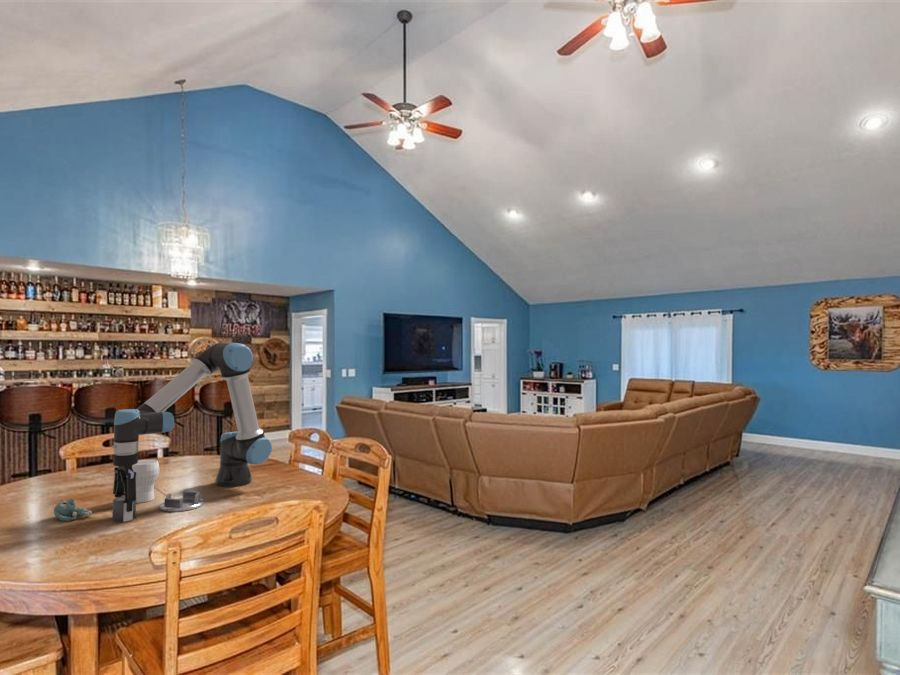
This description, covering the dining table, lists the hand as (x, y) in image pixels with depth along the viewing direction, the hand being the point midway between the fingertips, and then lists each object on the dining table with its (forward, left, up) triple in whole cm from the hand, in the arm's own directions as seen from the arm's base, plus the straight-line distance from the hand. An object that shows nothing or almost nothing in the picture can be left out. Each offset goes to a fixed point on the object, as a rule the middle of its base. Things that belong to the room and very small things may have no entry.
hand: (123, 517), depth 181 cm
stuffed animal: (-15, -11, -1) cm, 19 cm away
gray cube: (0, 0, 0) cm, 0 cm away
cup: (-19, +13, -1) cm, 23 cm away
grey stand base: (0, +20, 0) cm, 20 cm away
